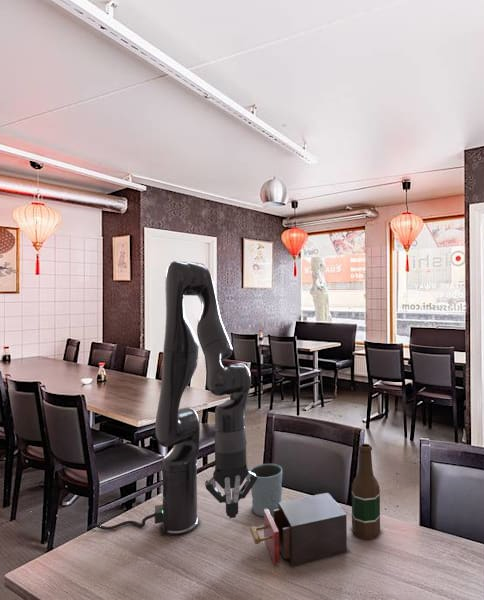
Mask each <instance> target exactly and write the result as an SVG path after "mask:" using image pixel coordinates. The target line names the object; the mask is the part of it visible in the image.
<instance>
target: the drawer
mask: <svg viewBox="0 0 484 600" xmlns="http://www.w3.org/2000/svg"><path fill="white" fill-rule="evenodd" d="M273 512H274V515H271V514H270V512H269V510H268V509H264V516H263V525H259V526H255V525H252V526H250V528H249V531H250V533H251V536H252V539H253V542H254V544H255V545H259V544H260V543H261V542H265V544H266V547H267V549H268V552H269V554H270V557H271V559H272V562H273V564H274V565H278V564H279V565H280V554H281V556H282V558H283V559H284V560H286V559H289V558H290V557H291V527H290V525H289V524H288V522H287V520H286V518H285V516H284V514H283V513H282V511H281V509H275V510H273ZM260 530H261V531H262V530H263V537H260V536H259V533H258V531H260Z"/></svg>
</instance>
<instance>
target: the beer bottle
mask: <svg viewBox="0 0 484 600" xmlns="http://www.w3.org/2000/svg"><path fill="white" fill-rule="evenodd" d="M358 450H359V457H358V471H357V474H356V476H355V477H354V478H353V481H352V483H351V528H352V531H353V533H354V535H355V536H356V537H358V538H362V539H366V540H367V539H374V538H376V537H377V535H378V534H379V533H380V532H381V490H380V485H379V481H378V479H377V478H376V476H375V475H374V470H373V459H372V451H373V447H372V445H371V444H369V443H361V444H359V446H358Z"/></svg>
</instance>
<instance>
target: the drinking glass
mask: <svg viewBox="0 0 484 600" xmlns="http://www.w3.org/2000/svg"><path fill="white" fill-rule="evenodd" d="M249 471H250V472H251V473H255V474H256V476H257V480H256V482H255V483H254V485H253V486H252V488H251V489H250V492H251V498H252V500H251V501H252V502H251V503H252V510H253V513H254V514H255V515H257V516H260V517H264V509H268V510H269V512H270V514H271V516H274V512H273V510H275V509H278V502H282V494H283V493H282V492H283V486H282V483H283V468H282V466H280V465H279V464H276V463H261V464H257V465H255V466H252V468H251V469H249Z"/></svg>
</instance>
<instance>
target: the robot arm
mask: <svg viewBox="0 0 484 600" xmlns="http://www.w3.org/2000/svg"><path fill="white" fill-rule="evenodd" d="M164 283H165V286H164V287H165V291H164V292H165V326H164V339H163V349H162V350H163V351H162V370H161V372H162V373H161V384H160V393H159V398H158V404H157V411H156V417H155V424H154V431H155V437H156V441H157V442H158V444H159V445H160V446H161V447H163V448H170V447H172V448H171V449H170V450H169V451H168V452H167V453H166V454H165V455H164V456H163V458H162V463H161V466H162V504H157V505H155V506H154V513H152V514H149V515H146V516H145V517H144V518H143V519H142V520H141V523H140V522H138V521H136V520H126V521H122V522H120V523H118V524H114V525H111V526H105V525H102V524H99V523H92V524H90V525H88V526H87V528H86V530H87V531H88V530H91V529H92V528H98V529H100V530H104V531H112V530H114V529H117V528H120V527H123V526H125V525H134V526H136V527H139V528H143V527H144V526H145V525H146V521H147V520H149V519H152V518H154V524H155V525H157V524H162V535H182V534H185V533H188V532H191V531H192V530H194V529H195V528H196V527H197V526H198V523H199V520H198V519H199V518H198V469H197V465H198V464H197V463H198V462H197V459H198V456H199V453H200V437H201V436H200V435H201V433H200V432H201V430H200V429H201V423H200V419H199V415H198V414H197V412H196V410H195V409H194V408H193V407H189V406H186V407H181V408H180V404H181V399H182V397H183V394H184V392H185V390H186V388H187V387H188V386H189V383H190V381H191V379H192V378H193V377H194V374H195V372H196V370H197V367H198V361H199V360H198V359H199V347H200V348H201V350H202V352H203V355H204V363H205V378H206V379H205V380H206V387H207V388H208V391H209V392H210V393H211V394H213V395H214V396H216V397H221V396H226V395H229V396H228V398H227V400H225V401H223V402H222V403H220V404H218V405H217V406H216V407H215V410H214V420H215V421H214V423H215V427H214V428H215V432H214V471H213V473H212V477H211V478H210V479H209V480H205V482H204V485H205V489H206V491H208V492H209V493H210V495H212V497H213V498H214V499H215V500H216V501H217V502H218V503H220V504H223V503H225V514H226V516H227V517H228V518H229V519H234V518H236V517H237V515H239V502H240V500H242V499H243V500H245V498H246V497H247V495H248V494H249V493H250V492H251V488H252V486H253V485H254V483H255V482H256V480H257V476H256V474H255V473H251V472H250V469H249V467H248V461H247V443H248V442H247V432H246V425H245V424H246V422H245V421H246V420H245V419H246V418H245V417H246V416H245V410H246V405H247V403H248V398H249V393H250V389H251V385H252V376H251V375H252V374H251V371H250V369H249V367H248V366H247V365H246V364H244V363H242V362H238V363H230V364H224V365H223V364H222V362H223V361H225V360H227V359H228V358H230V357H231V356H232V354H233V346H232V344H231V341H230V339H229V336H228V334H227V331H226V329H225V326H224V323H223V321H222V317H221V314H220V309H219V304H218V299H217V294H216V289H215V285H214V280H213V277H212V274H211V271H210V269H209V268H208V266H207V265H206V264H204V263H201V262H194V261H182V260H181V261H180V260H179V261H178V260H173V261H172V262H170V263H169V264H168V266H167V269H166V273H165V281H164ZM185 296H192V297H193V296H195V297H196V296H197V297H198V300H199V301H200V305H201V311H200V315H199V319H198V321H197V325H196V327H197V328H196V333H195V331H194V329H193V327H192V326H191V324H190V323H189V320H188V318H187V316H186V313H185V303H184V299H185ZM199 345H200V346H199ZM245 479H246V480H245ZM244 481H245V482H244ZM216 483H217V484H218V485H219V486H220V488H222V489H223V492H224V494H223V493H222V492H221V491H220V490H219V489H218V488H217V484H216ZM242 484H243V485H242ZM241 486H242V487H241ZM240 487H241V488H240ZM101 525H102V526H101ZM100 526H101V527H100Z"/></svg>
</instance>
